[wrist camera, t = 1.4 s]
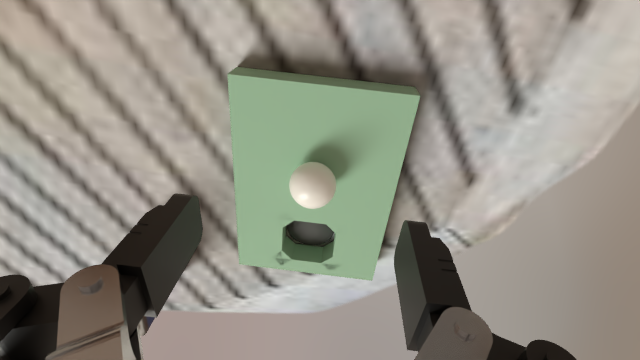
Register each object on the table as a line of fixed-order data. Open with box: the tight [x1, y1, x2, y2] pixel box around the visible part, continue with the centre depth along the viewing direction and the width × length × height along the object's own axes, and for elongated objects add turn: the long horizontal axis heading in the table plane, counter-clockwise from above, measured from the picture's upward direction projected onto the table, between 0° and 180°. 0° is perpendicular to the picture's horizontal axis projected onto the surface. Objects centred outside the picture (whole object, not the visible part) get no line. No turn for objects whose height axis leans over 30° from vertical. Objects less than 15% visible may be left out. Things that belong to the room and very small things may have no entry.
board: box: [228, 67, 420, 281], centre depth 31 cm, size 21×15×2 cm
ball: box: [289, 162, 336, 209], centre depth 27 cm, size 4×4×4 cm
